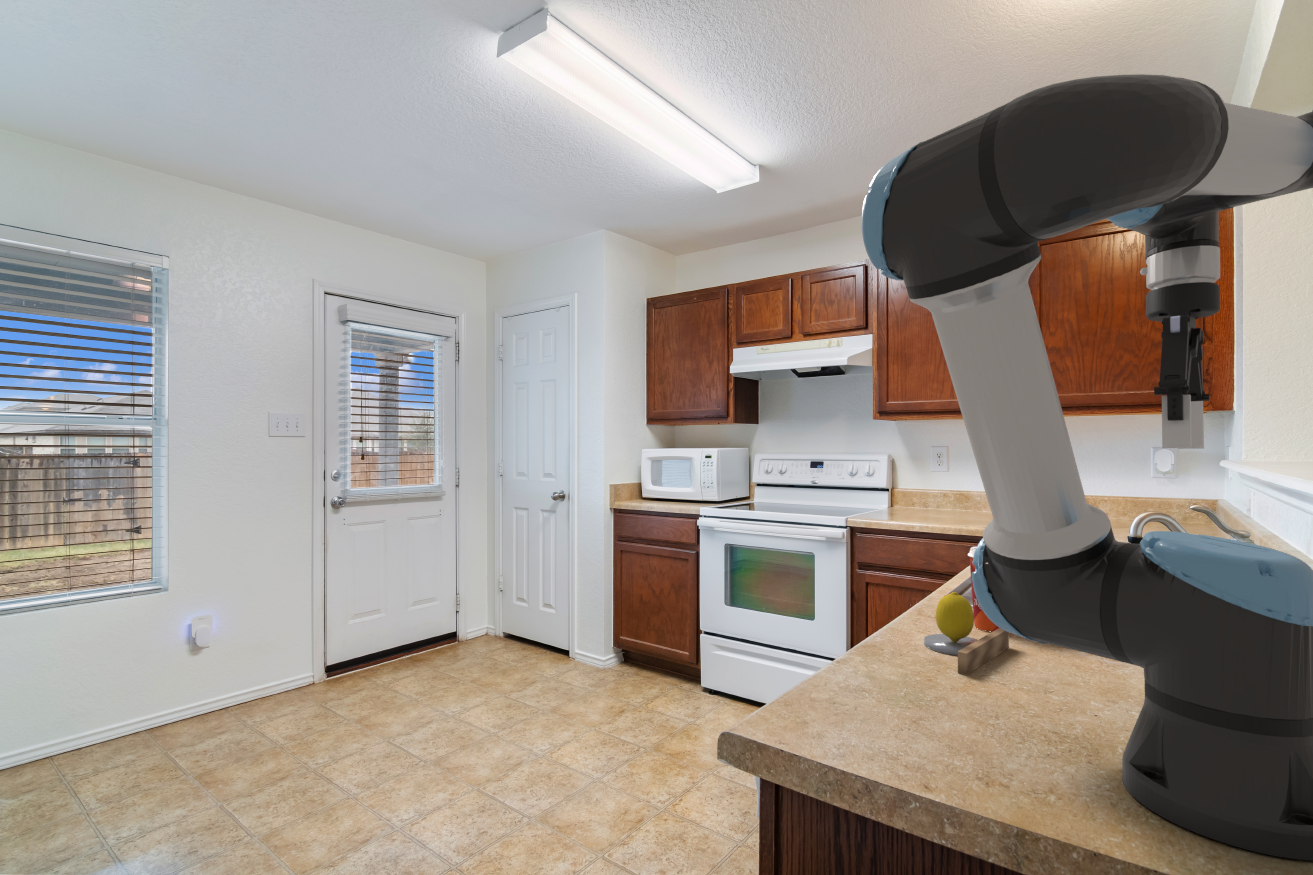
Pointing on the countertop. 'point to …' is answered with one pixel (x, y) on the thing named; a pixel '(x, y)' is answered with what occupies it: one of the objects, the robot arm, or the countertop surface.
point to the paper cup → (979, 616)
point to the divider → (982, 651)
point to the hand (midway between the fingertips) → (1184, 448)
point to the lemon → (954, 616)
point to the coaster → (946, 643)
